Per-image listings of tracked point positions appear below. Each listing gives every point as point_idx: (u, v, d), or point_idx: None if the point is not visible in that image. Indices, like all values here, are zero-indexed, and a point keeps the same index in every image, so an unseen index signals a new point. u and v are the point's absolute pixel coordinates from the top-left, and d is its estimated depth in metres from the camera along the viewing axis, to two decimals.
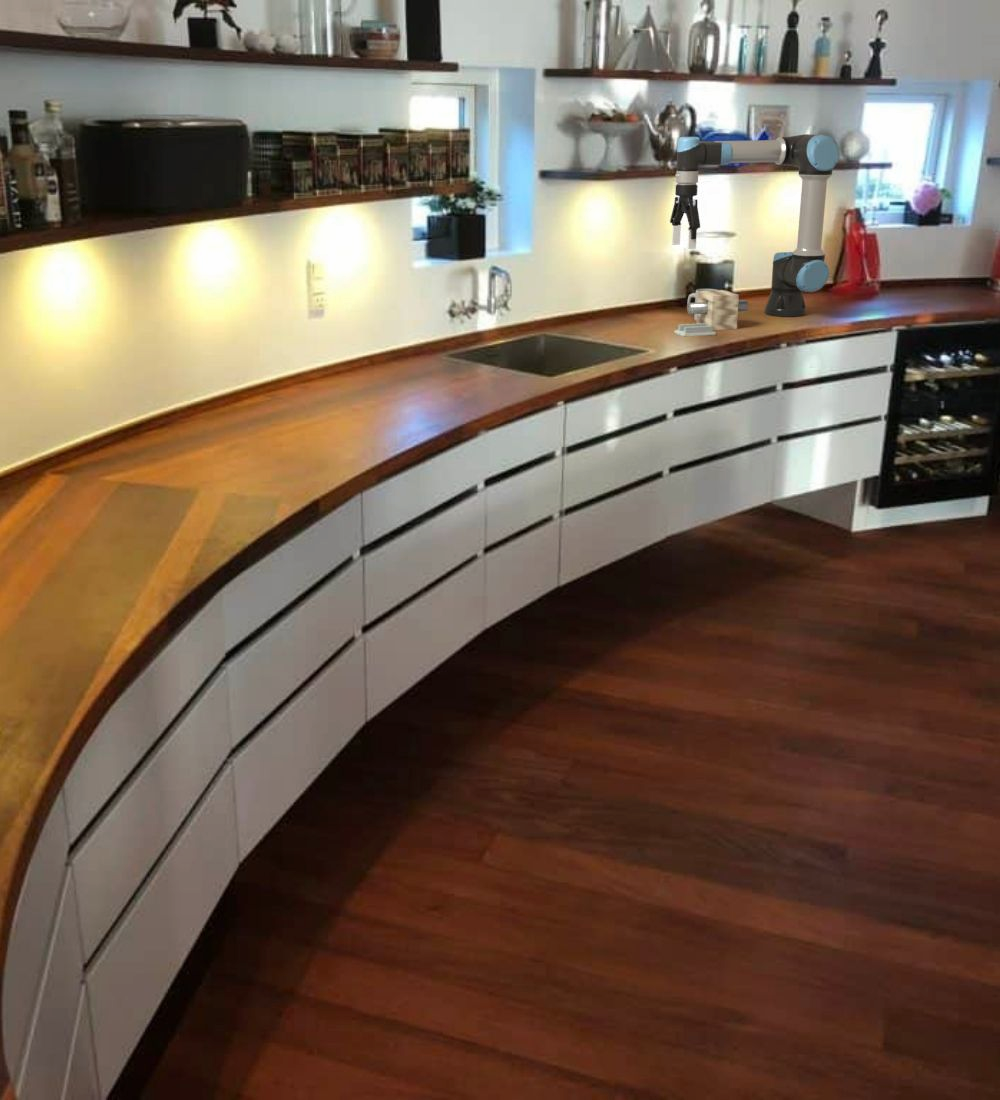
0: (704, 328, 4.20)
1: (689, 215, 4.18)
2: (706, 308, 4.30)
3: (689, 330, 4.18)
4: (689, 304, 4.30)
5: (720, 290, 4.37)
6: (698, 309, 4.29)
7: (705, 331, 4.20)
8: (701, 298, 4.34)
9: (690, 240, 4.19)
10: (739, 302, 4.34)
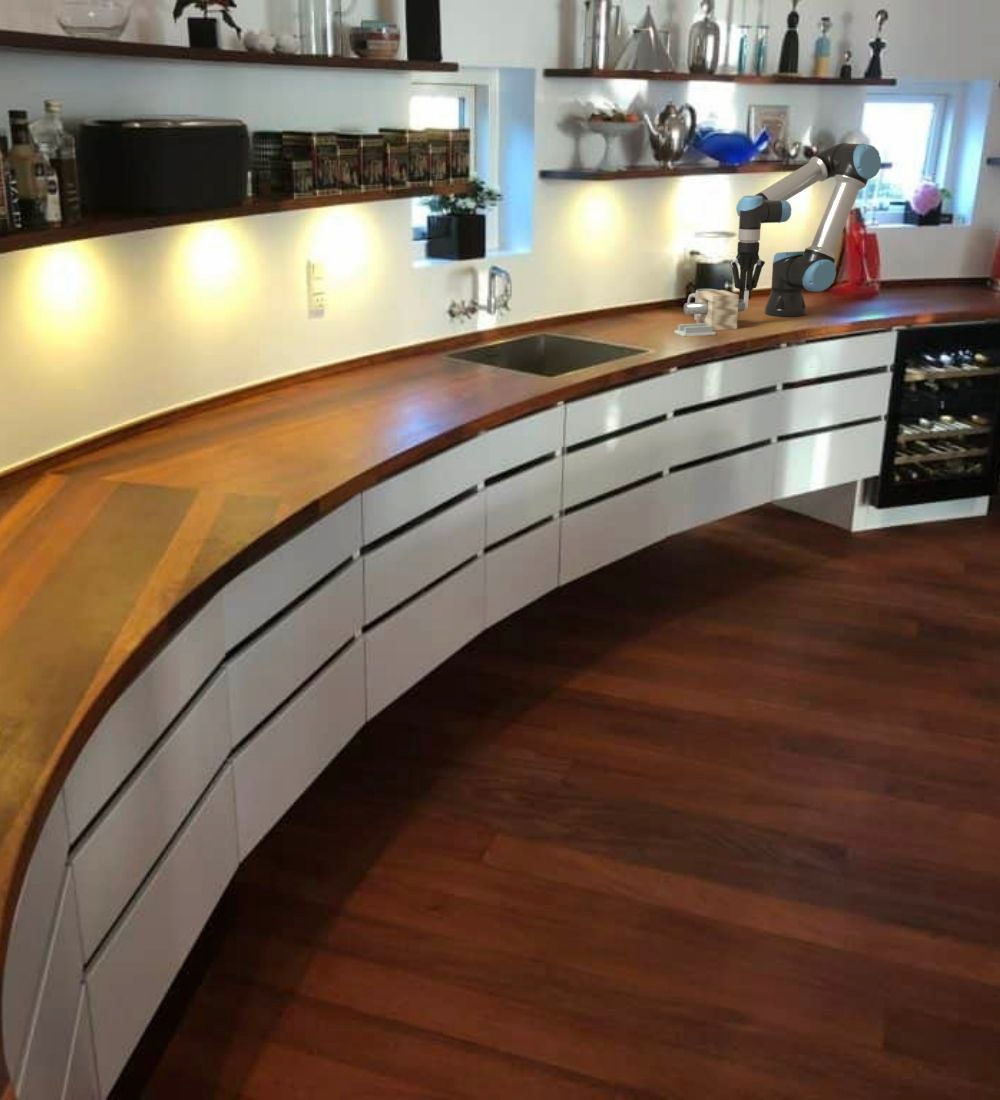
0: (704, 328, 4.20)
1: (740, 275, 4.32)
2: (703, 308, 4.30)
3: (689, 330, 4.18)
4: (686, 304, 4.30)
5: (720, 290, 4.37)
6: (695, 309, 4.29)
7: (705, 331, 4.20)
8: (701, 298, 4.34)
9: None
10: None
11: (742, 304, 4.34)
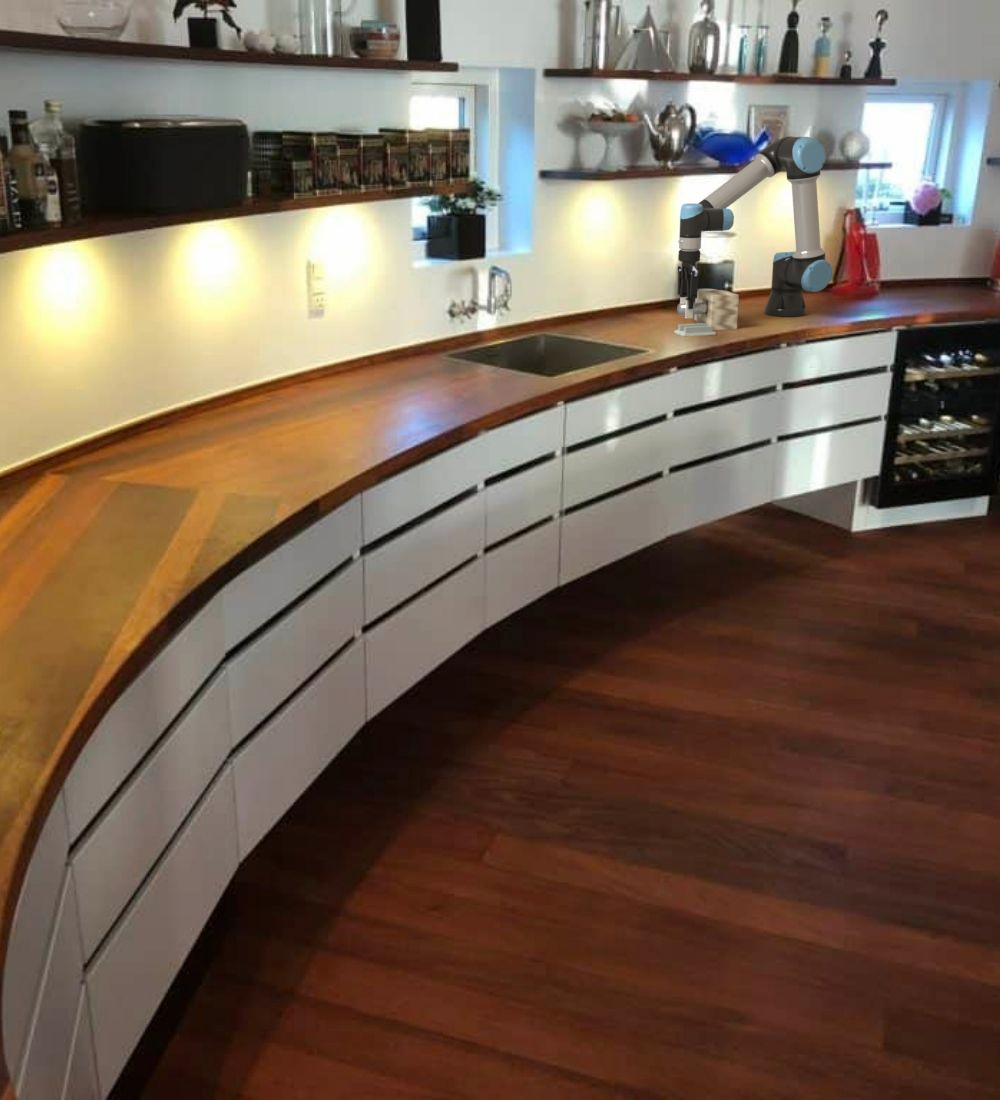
0: (704, 328, 4.20)
1: (689, 284, 4.24)
2: (696, 308, 4.29)
3: (689, 330, 4.18)
4: (679, 305, 4.29)
5: (720, 290, 4.37)
6: None
7: (705, 331, 4.20)
8: (701, 298, 4.34)
9: (687, 310, 4.27)
10: None
11: None
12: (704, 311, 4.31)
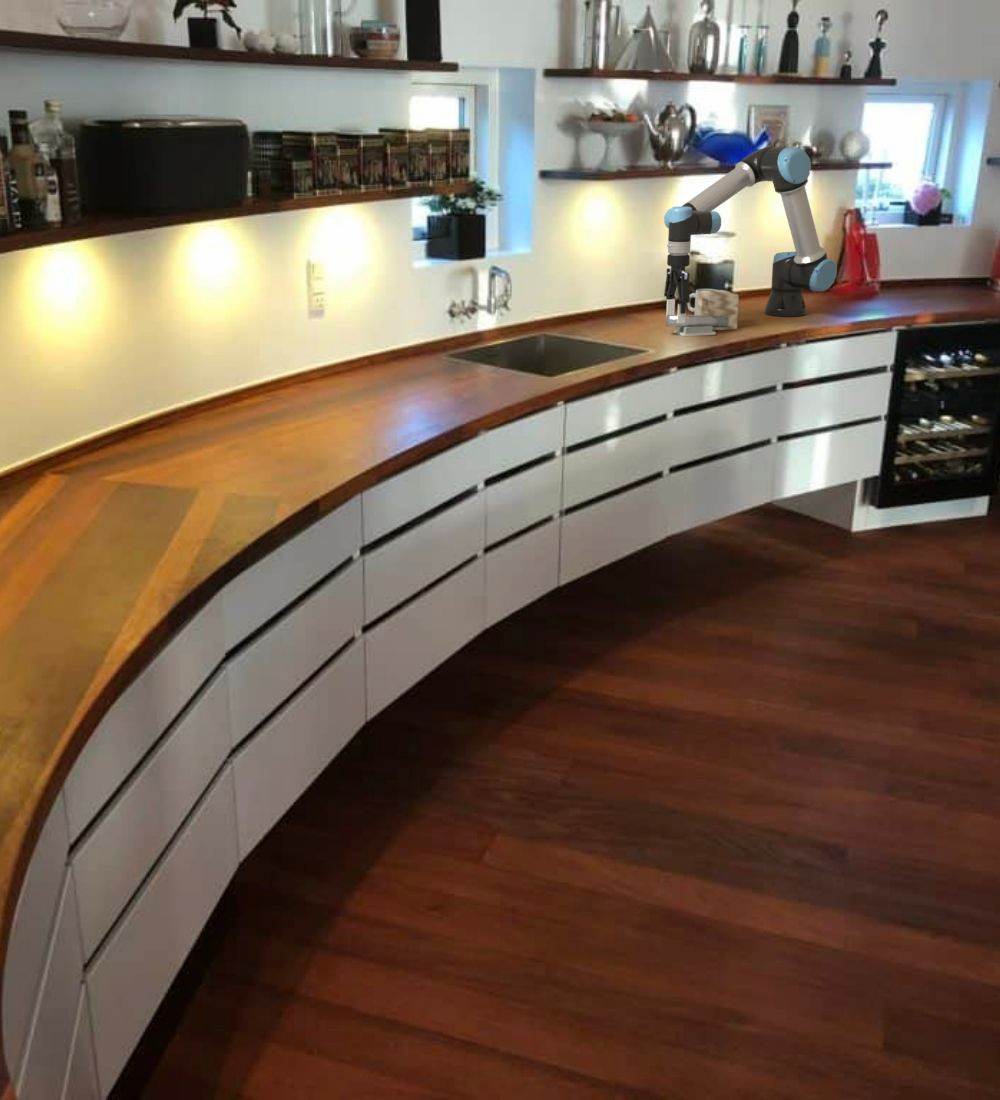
0: (704, 328, 4.20)
1: (680, 288, 4.12)
2: (685, 321, 4.19)
3: (689, 330, 4.18)
4: (668, 316, 4.19)
5: (720, 290, 4.37)
6: None
7: (705, 331, 4.20)
8: (701, 298, 4.34)
9: (679, 314, 4.14)
10: (719, 317, 4.23)
11: (726, 319, 4.23)
12: (693, 324, 4.20)
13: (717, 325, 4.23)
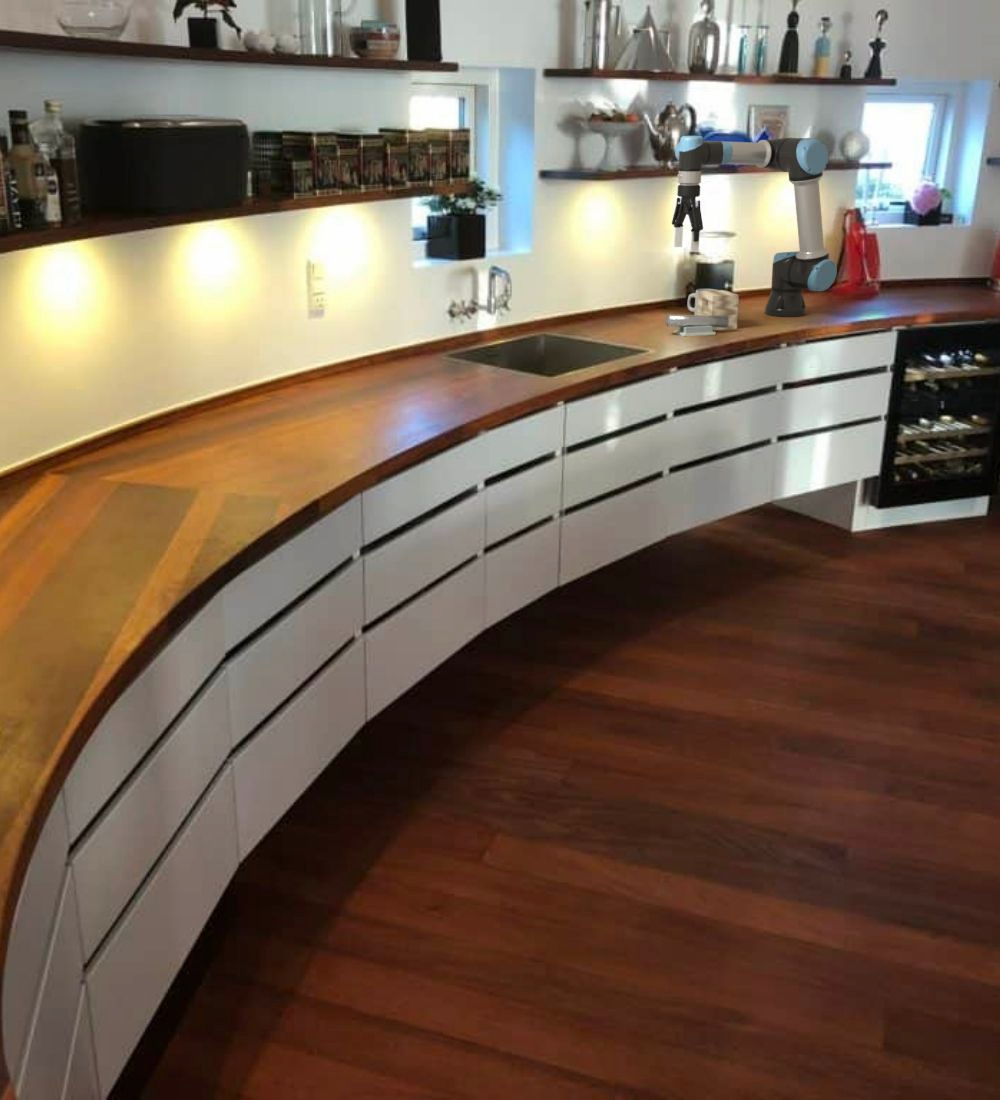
0: (704, 328, 4.20)
1: (692, 216, 4.05)
2: (685, 320, 4.19)
3: (689, 330, 4.18)
4: (668, 316, 4.19)
5: (720, 290, 4.37)
6: (678, 321, 4.18)
7: (705, 331, 4.20)
8: (701, 298, 4.34)
9: (693, 242, 4.06)
10: (719, 317, 4.23)
11: (726, 319, 4.23)
12: (693, 324, 4.20)
13: (717, 325, 4.23)
